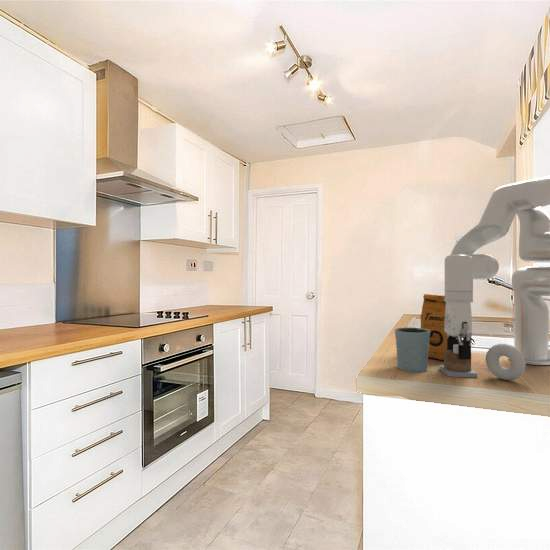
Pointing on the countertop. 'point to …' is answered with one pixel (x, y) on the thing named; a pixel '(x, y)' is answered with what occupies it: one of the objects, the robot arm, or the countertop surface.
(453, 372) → the peg stand
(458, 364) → the ring
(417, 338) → the blue grey cup
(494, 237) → the robot arm
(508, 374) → the donut
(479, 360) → the countertop surface
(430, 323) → the coffee package
